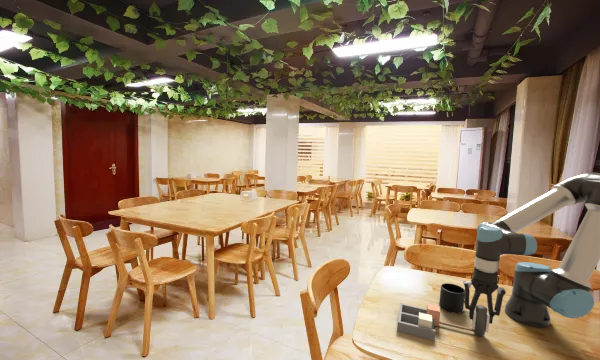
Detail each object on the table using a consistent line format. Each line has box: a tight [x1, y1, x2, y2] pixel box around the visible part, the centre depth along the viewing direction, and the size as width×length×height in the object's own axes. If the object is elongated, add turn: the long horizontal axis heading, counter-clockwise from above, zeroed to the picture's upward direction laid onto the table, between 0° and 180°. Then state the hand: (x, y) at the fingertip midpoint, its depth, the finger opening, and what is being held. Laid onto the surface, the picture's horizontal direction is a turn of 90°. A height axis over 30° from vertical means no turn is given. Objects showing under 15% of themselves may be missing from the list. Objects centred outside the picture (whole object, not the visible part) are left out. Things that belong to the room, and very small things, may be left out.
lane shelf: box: [396, 302, 437, 341], centre depth 114 cm, size 13×15×4 cm
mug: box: [438, 282, 465, 314], centre depth 127 cm, size 9×12×9 cm
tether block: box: [426, 303, 488, 337], centre depth 112 cm, size 20×4×10 cm, turn 68°
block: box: [418, 312, 432, 329], centre depth 109 cm, size 4×4×6 cm
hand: (479, 328), depth 109 cm, fingers closed on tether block, 3 cm apart
